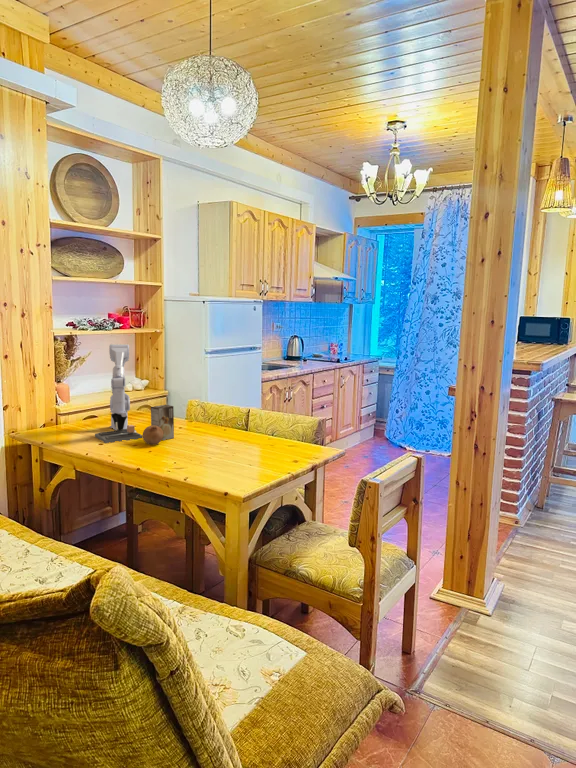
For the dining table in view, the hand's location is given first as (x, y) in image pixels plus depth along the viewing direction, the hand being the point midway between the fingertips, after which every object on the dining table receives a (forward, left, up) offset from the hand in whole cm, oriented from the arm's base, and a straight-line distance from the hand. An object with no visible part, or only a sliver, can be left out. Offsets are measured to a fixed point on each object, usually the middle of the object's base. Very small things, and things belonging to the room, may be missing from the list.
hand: (119, 428), depth 264 cm
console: (+4, -2, -3) cm, 6 cm away
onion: (+24, +7, -4) cm, 25 cm away
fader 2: (+9, +2, -2) cm, 10 cm away
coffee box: (+17, +15, -4) cm, 23 cm away
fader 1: (0, 0, -2) cm, 2 cm away
